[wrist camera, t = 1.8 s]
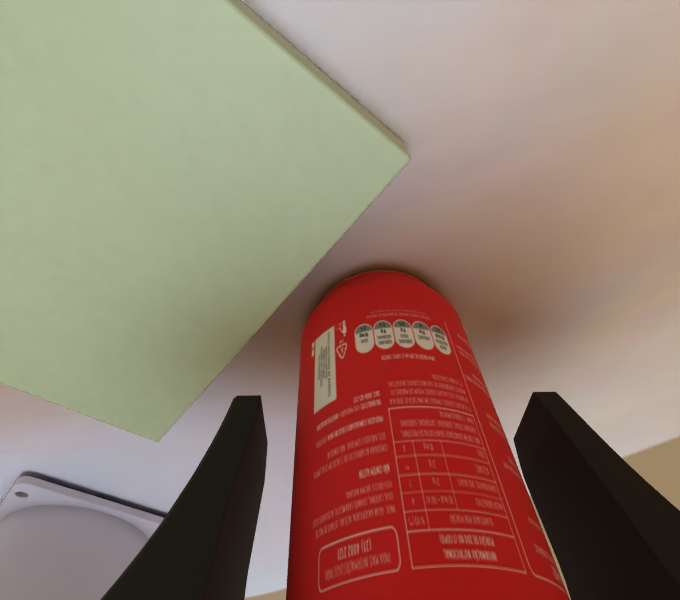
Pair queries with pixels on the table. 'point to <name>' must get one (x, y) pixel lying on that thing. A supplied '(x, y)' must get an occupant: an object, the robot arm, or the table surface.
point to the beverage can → (405, 459)
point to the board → (162, 195)
